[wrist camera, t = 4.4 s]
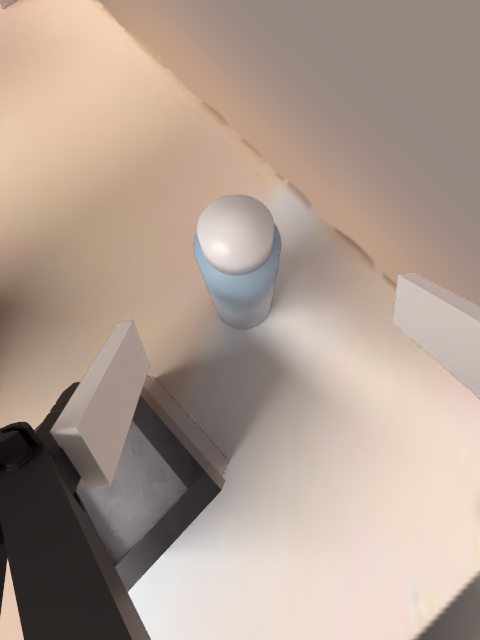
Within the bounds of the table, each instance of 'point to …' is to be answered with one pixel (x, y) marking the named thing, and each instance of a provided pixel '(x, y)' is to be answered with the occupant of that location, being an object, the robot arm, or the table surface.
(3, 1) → the walkman
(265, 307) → the white-capped blue bottle
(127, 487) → the square planter pot
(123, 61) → the table surface
